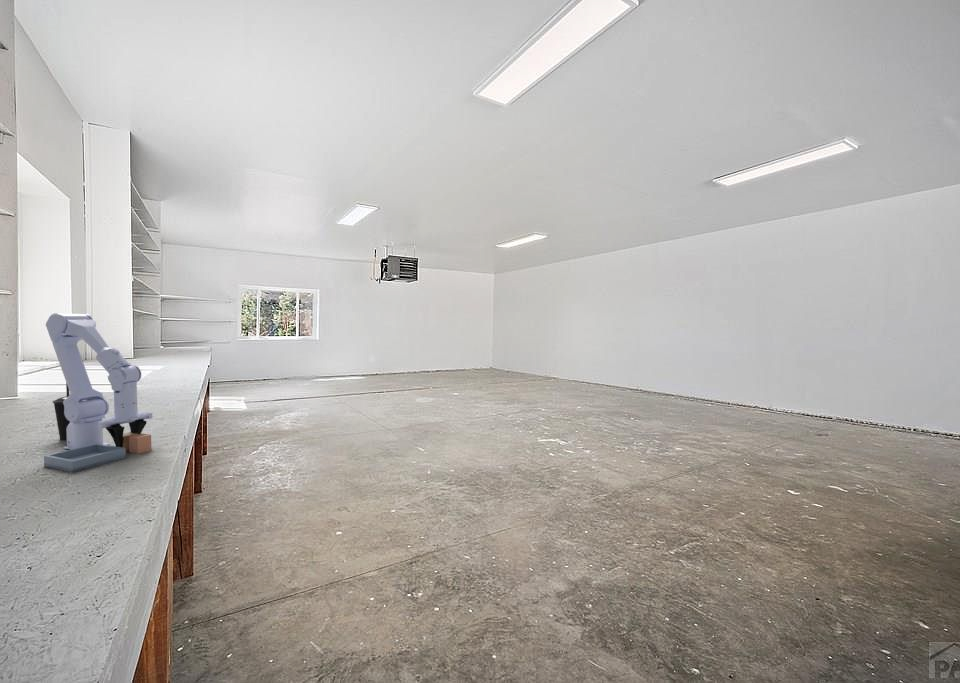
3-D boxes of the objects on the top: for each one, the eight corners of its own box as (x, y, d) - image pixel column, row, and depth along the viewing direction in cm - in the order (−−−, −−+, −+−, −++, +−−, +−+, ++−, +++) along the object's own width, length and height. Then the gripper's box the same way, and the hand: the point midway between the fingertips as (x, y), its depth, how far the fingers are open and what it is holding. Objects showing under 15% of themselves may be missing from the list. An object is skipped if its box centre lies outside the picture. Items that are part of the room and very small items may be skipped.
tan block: (116, 450, 135) (115, 435, 135) (130, 447, 139) (129, 432, 138) (124, 452, 134) (124, 436, 133) (138, 448, 137) (137, 433, 137)
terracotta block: (129, 452, 134) (128, 436, 133) (143, 448, 137) (142, 433, 137) (137, 453, 132) (137, 438, 132) (151, 450, 136) (151, 434, 136)
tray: (44, 466, 120) (43, 455, 120) (98, 452, 132) (97, 443, 132) (72, 472, 116) (72, 461, 116) (125, 457, 128) (125, 448, 128)
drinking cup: (65, 442, 143) (63, 383, 142) (48, 440, 145) (45, 382, 144) (90, 436, 151) (88, 380, 150) (73, 434, 152) (71, 379, 151)
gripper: (107, 409, 127) (109, 453, 128) (158, 400, 141) (159, 440, 142) (92, 407, 130) (94, 450, 130) (143, 398, 143) (145, 438, 144)
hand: (127, 445), depth 136 cm, fingers closed on tan block, 4 cm apart
